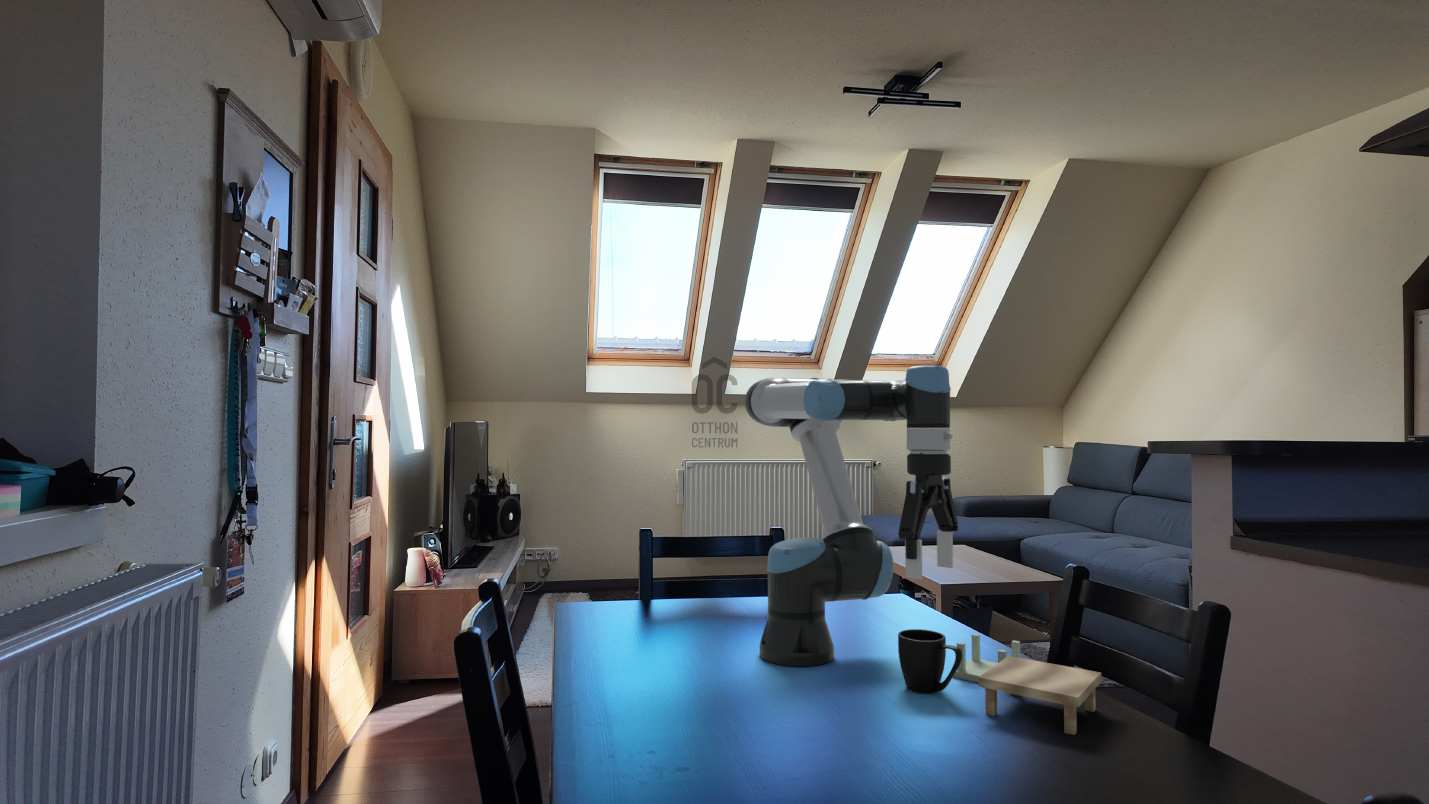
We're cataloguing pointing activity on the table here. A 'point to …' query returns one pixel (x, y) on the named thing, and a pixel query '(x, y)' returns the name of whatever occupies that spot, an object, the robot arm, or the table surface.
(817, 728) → the table surface
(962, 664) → the upturned footstool
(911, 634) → the mug
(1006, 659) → the oak stool
